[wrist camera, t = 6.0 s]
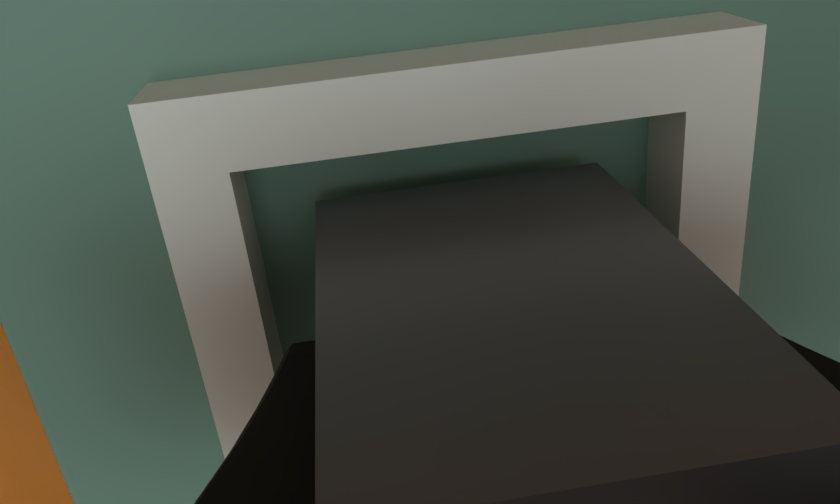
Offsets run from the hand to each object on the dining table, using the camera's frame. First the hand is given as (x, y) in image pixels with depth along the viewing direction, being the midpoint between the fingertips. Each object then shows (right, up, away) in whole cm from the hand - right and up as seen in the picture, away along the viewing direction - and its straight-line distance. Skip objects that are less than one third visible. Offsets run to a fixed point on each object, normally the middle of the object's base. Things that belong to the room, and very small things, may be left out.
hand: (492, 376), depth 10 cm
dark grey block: (0, +1, +1) cm, 2 cm away
